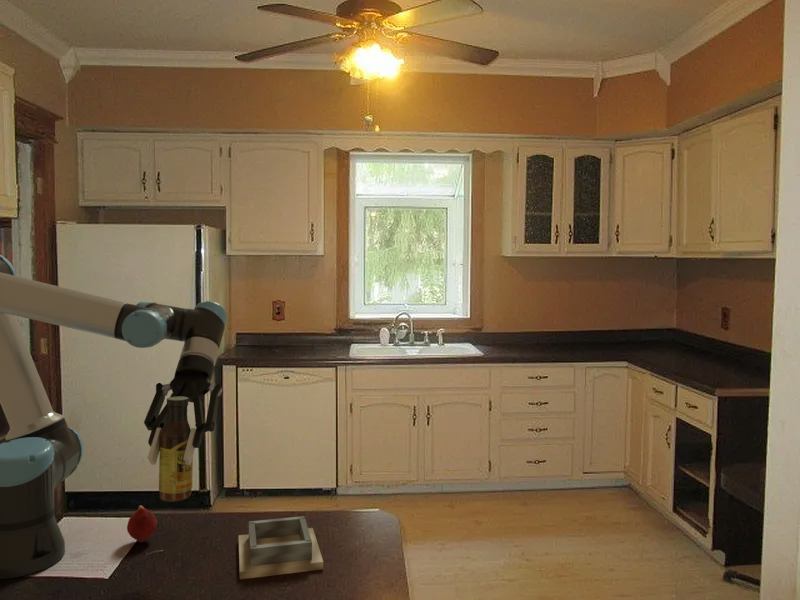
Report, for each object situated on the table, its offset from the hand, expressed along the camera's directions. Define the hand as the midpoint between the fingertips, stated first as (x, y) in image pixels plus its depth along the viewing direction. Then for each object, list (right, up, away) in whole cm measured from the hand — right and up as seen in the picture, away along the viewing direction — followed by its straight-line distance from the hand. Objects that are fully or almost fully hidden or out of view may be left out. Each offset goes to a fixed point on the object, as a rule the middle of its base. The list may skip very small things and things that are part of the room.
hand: (169, 461), depth 116 cm
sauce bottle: (0, -8, +4) cm, 9 cm away
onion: (-11, -21, +14) cm, 28 cm away
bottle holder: (+19, -22, +9) cm, 31 cm away
